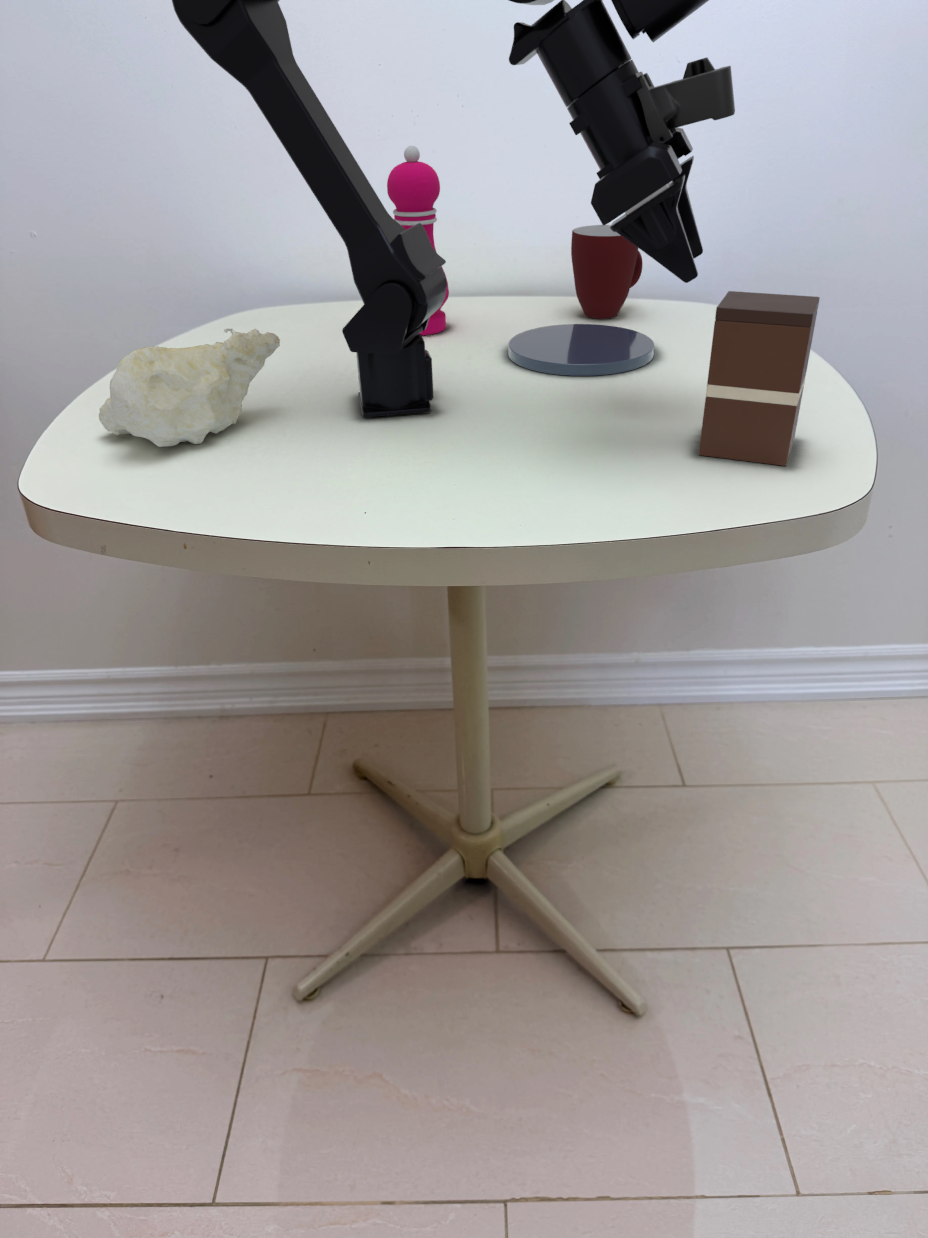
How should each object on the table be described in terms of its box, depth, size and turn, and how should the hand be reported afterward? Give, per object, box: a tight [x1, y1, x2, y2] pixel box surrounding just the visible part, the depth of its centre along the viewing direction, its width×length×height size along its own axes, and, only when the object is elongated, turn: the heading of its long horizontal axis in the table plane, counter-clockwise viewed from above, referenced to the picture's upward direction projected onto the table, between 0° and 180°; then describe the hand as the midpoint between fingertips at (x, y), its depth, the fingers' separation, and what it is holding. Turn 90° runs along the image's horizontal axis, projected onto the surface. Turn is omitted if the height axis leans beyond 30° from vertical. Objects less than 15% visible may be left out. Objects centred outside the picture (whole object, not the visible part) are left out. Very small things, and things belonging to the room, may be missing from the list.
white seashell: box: [98, 328, 281, 448], centre depth 80 cm, size 15×7×15 cm
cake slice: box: [698, 290, 821, 467], centre depth 72 cm, size 7×6×12 cm
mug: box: [570, 224, 643, 320], centre depth 111 cm, size 11×8×10 cm
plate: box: [507, 323, 655, 377], centre depth 100 cm, size 16×16×1 cm
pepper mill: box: [386, 145, 450, 336], centre depth 105 cm, size 7×7×20 cm
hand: (695, 267), depth 74 cm, fingers open, 9 cm apart
